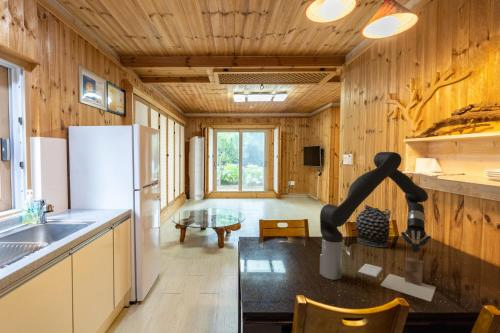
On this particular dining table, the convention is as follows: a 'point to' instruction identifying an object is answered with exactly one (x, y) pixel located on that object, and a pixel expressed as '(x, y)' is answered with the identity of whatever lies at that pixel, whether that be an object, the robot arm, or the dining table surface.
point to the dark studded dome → (373, 227)
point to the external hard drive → (370, 270)
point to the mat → (409, 287)
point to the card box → (413, 271)
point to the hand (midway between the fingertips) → (415, 252)
